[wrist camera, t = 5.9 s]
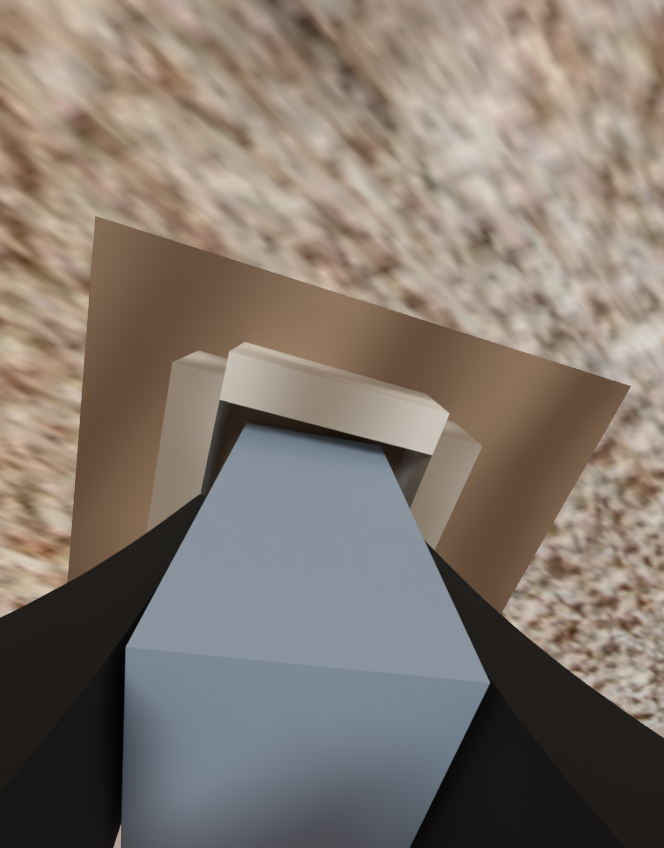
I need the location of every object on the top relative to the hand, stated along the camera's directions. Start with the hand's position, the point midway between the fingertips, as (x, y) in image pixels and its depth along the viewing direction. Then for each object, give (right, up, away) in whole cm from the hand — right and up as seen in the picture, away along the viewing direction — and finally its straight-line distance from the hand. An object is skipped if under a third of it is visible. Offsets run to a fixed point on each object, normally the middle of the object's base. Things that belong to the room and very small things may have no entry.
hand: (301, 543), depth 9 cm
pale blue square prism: (0, +1, +2) cm, 2 cm away
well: (0, +1, +3) cm, 4 cm away
